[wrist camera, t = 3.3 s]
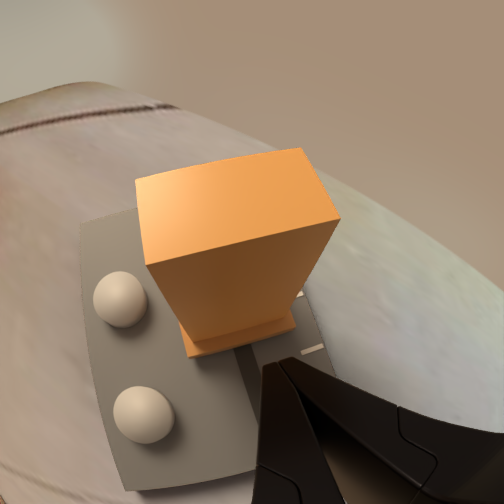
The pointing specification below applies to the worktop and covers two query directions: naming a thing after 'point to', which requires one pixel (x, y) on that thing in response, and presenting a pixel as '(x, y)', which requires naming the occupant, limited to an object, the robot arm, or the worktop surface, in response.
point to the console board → (171, 369)
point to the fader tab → (234, 244)
